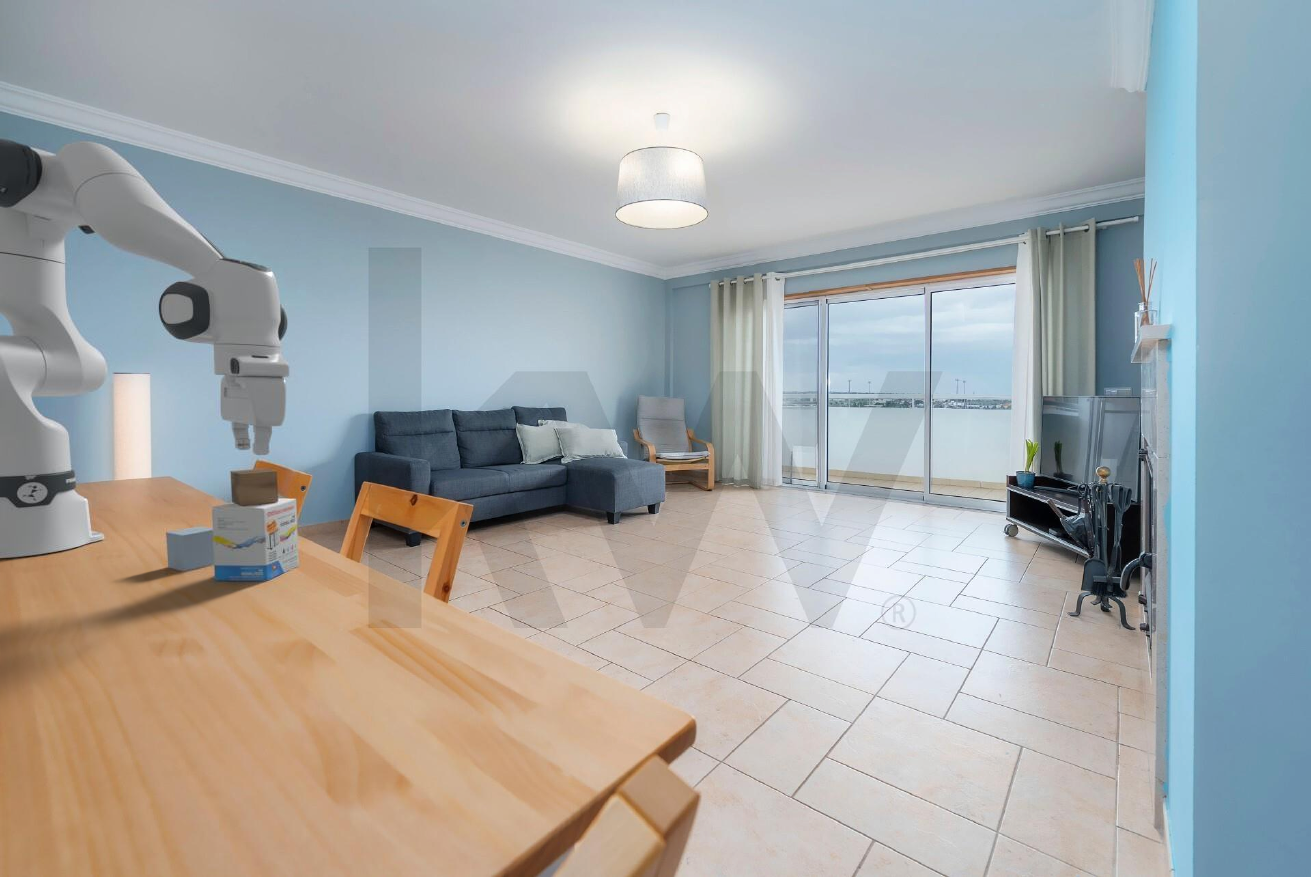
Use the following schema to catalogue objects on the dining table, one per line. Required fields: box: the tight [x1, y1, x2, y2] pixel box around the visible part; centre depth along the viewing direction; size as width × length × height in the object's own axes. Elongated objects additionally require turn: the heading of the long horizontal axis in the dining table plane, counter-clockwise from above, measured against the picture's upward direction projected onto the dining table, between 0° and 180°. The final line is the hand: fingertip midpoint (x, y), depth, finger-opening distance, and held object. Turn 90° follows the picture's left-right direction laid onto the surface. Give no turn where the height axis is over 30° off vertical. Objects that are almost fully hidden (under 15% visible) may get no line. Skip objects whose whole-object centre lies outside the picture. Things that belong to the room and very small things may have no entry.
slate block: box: [165, 525, 214, 572], centre depth 100 cm, size 5×5×6 cm
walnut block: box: [230, 467, 279, 506], centre depth 95 cm, size 5×5×5 cm
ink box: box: [211, 497, 300, 582], centre depth 96 cm, size 9×8×12 cm
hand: (251, 452), depth 95 cm, fingers open, 8 cm apart
